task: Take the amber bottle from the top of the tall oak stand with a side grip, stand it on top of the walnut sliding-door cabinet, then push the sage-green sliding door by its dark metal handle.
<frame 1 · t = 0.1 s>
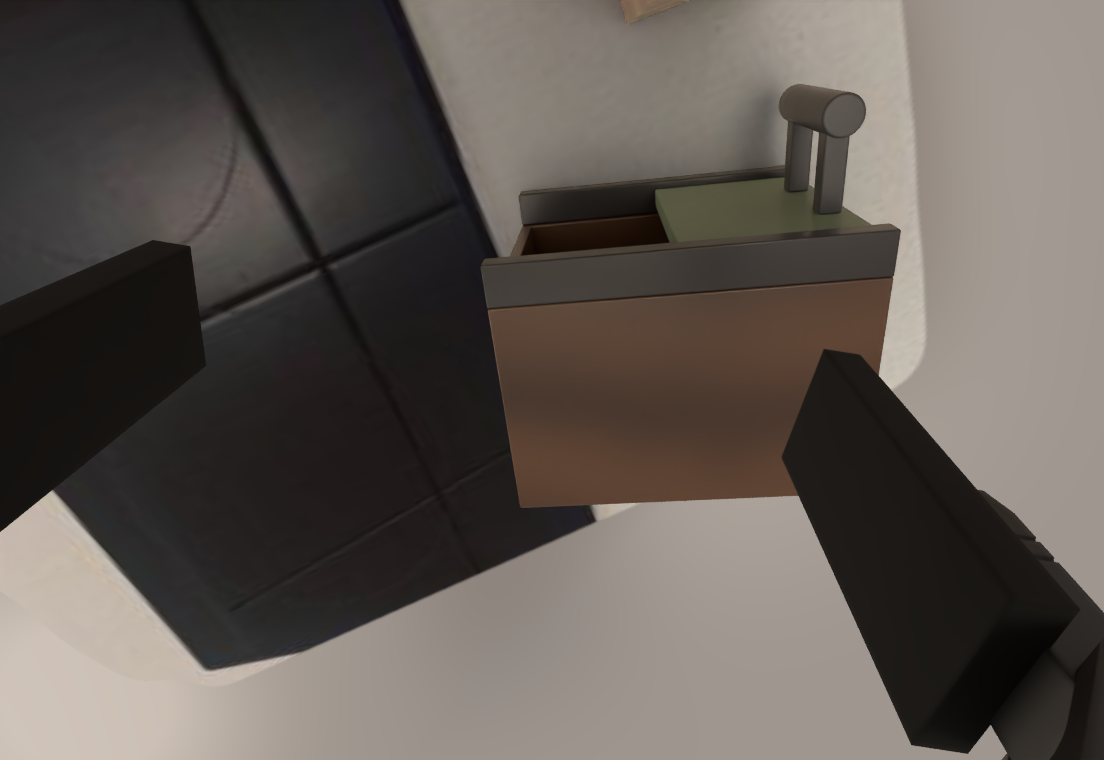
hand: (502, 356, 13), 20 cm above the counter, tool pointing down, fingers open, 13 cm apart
cabinet: (656, 286, 33), on the counter
sliding door: (748, 163, 24), point 6 cm above the counter, slide at 0.0 cm
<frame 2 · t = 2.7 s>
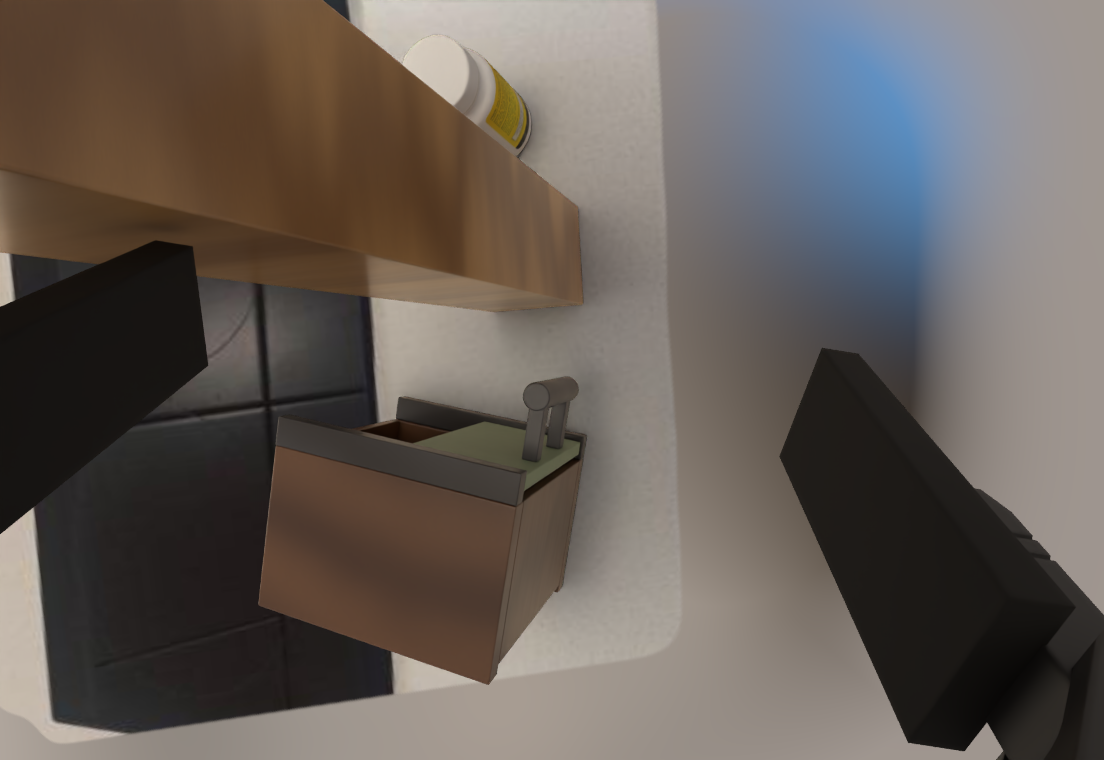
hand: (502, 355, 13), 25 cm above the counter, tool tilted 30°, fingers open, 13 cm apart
cabinet: (479, 495, 41), on the counter
stand: (534, 260, 39), on the counter
sliding door: (506, 415, 34), point 6 cm above the counter, slide at 0.0 cm
supplement bottle: (498, 130, 40), on the counter
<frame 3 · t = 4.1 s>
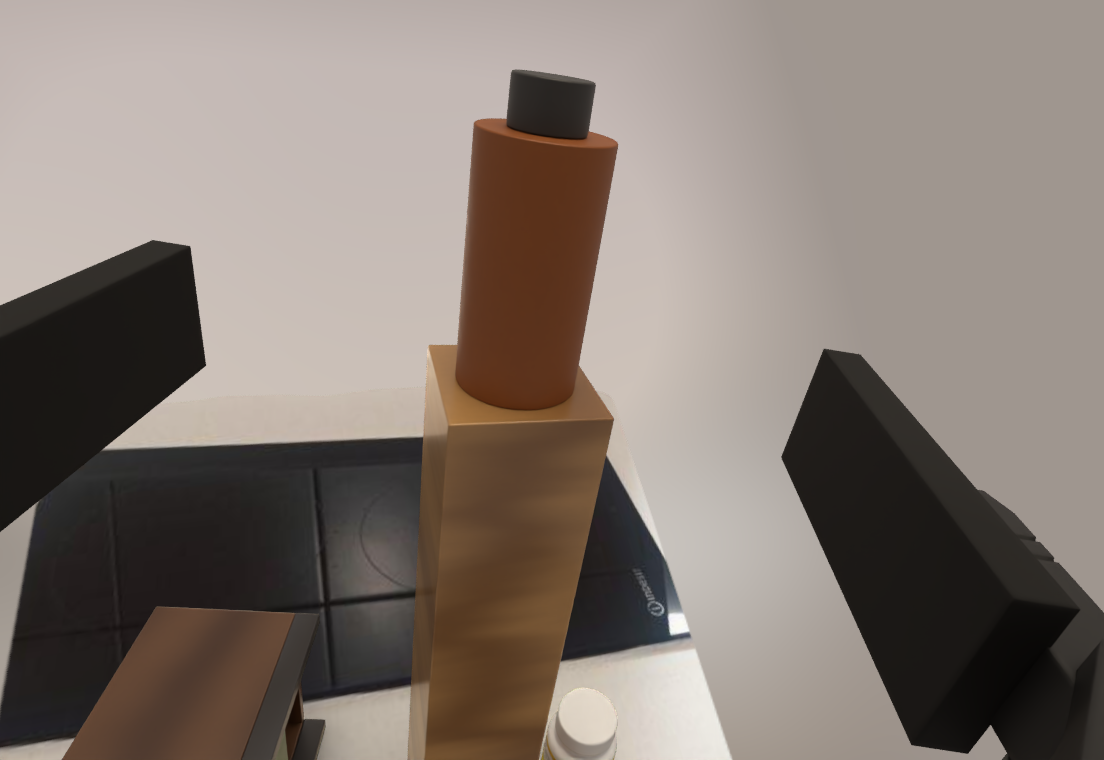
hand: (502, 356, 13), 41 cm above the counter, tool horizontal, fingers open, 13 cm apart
amber bottle: (515, 378, 24), point 35 cm above the counter, touching stand
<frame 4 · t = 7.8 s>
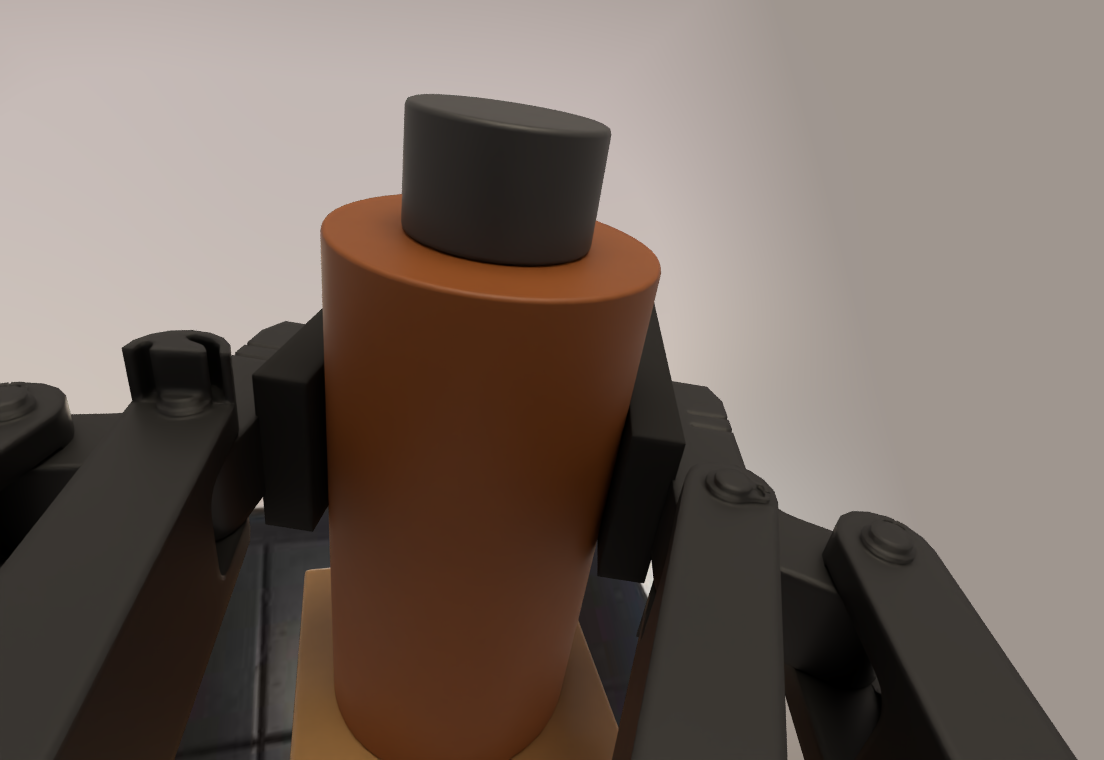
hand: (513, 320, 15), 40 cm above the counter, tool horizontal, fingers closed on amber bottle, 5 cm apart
amber bottle: (452, 662, 13), point 35 cm above the counter, touching gripper, stand
when the fingers open (17 cm above the counter, at t = 16.5 s): amber bottle stays where it is, resting on cabinet.
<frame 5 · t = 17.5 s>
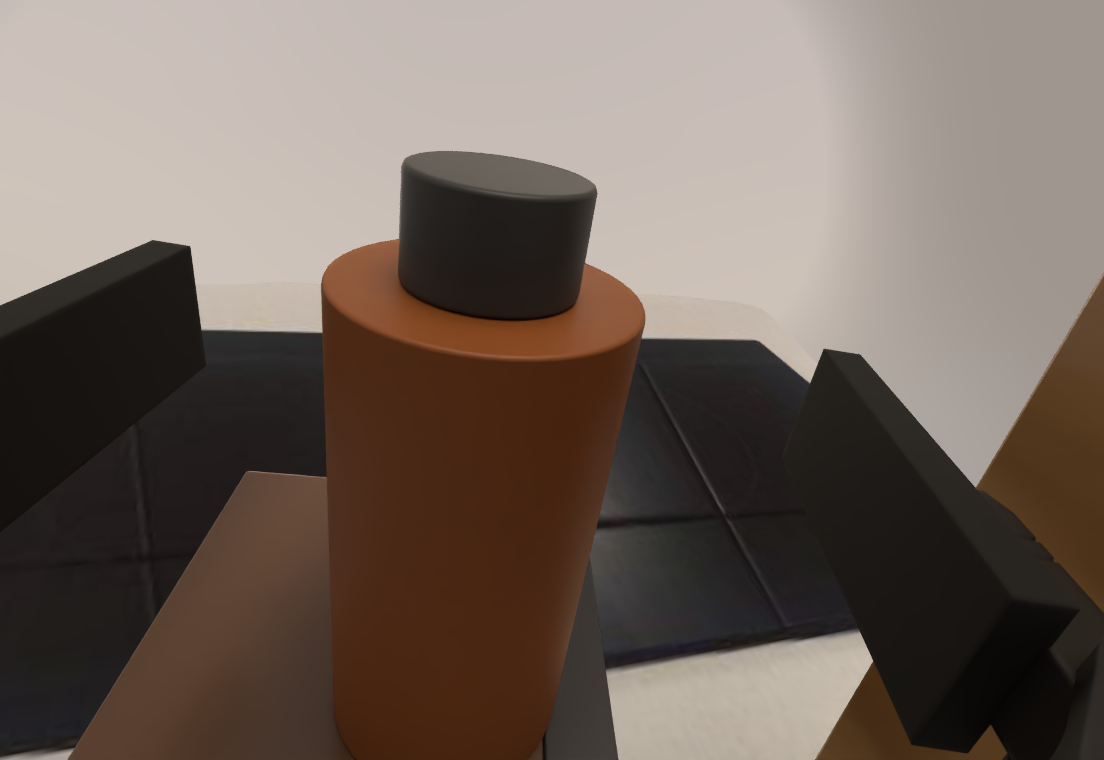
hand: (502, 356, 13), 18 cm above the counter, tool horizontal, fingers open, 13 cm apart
amber bottle: (447, 682, 13), point 12 cm above the counter, touching cabinet
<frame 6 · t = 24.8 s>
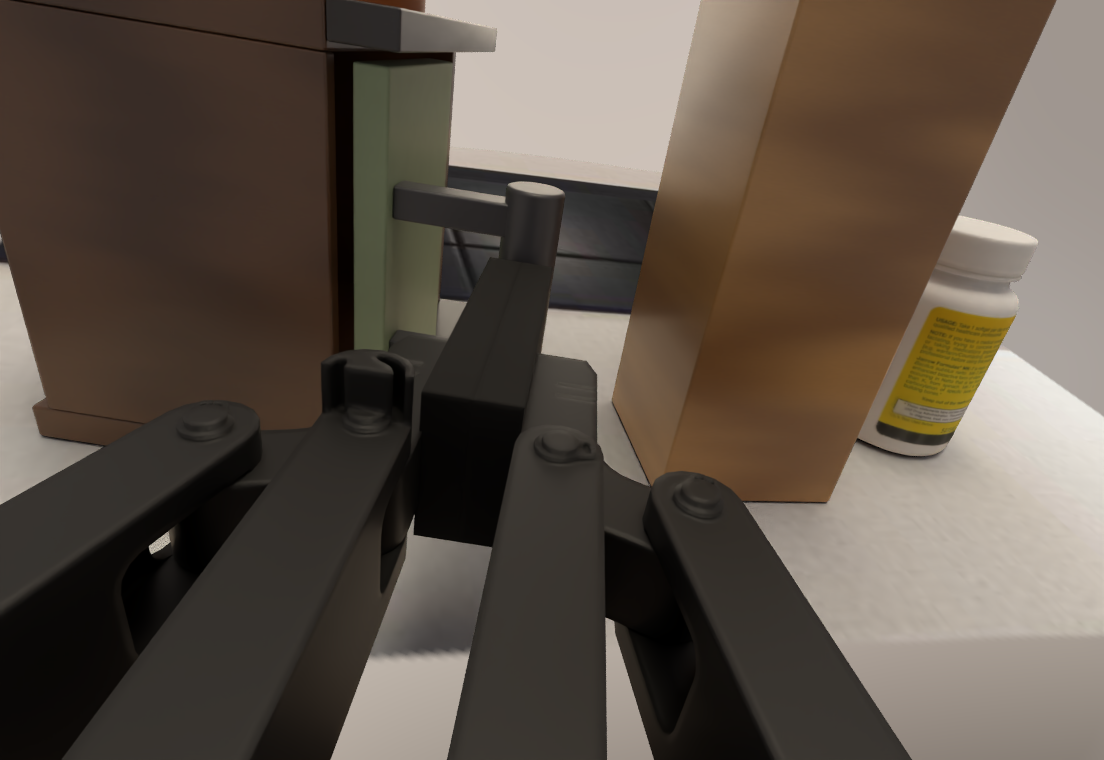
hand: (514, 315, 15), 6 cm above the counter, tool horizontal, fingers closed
amber bottle: (342, 0, 18), point 12 cm above the counter, touching cabinet
cabinet: (294, 360, 23), on the counter
stand: (710, 447, 22), on the counter
sliding door: (473, 260, 18), point 6 cm above the counter, slide at 0.3 cm, touching gripper
supplement bottle: (879, 429, 26), on the counter
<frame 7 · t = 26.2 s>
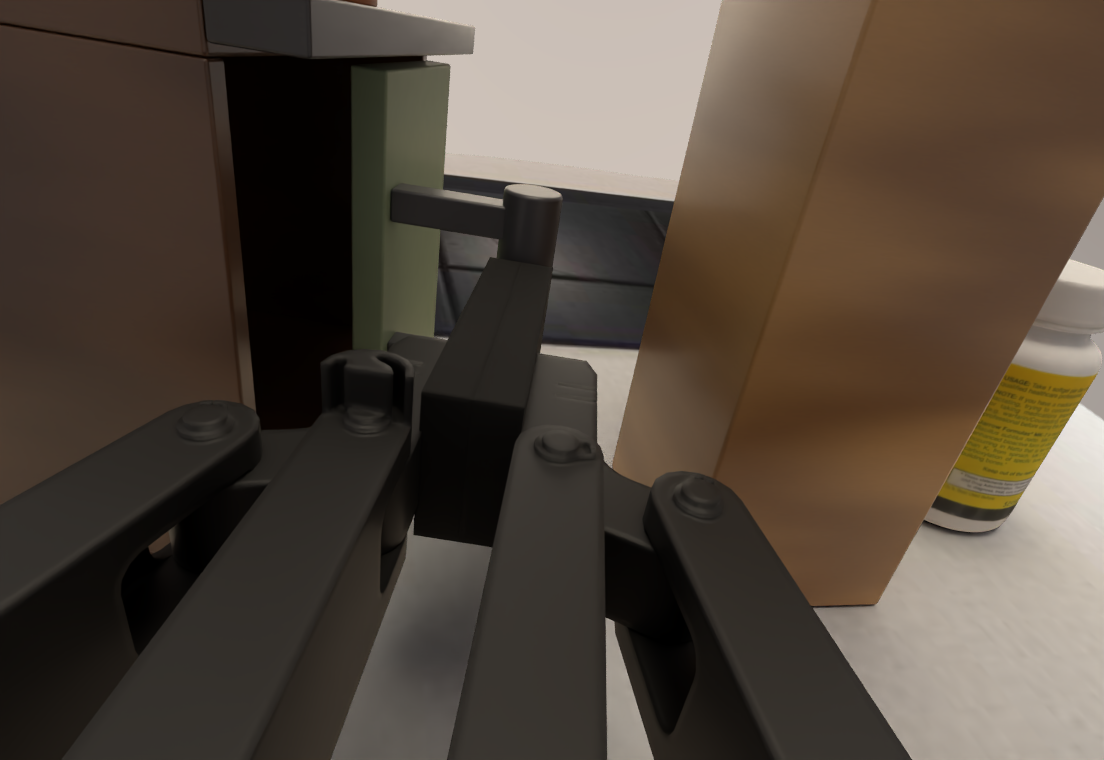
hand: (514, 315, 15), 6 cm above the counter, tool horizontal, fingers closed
cabinet: (234, 422, 20), on the counter
stand: (730, 528, 19), on the counter
sliding door: (470, 262, 18), point 6 cm above the counter, slide at 4.5 cm, touching gripper
supplement bottle: (923, 494, 22), on the counter
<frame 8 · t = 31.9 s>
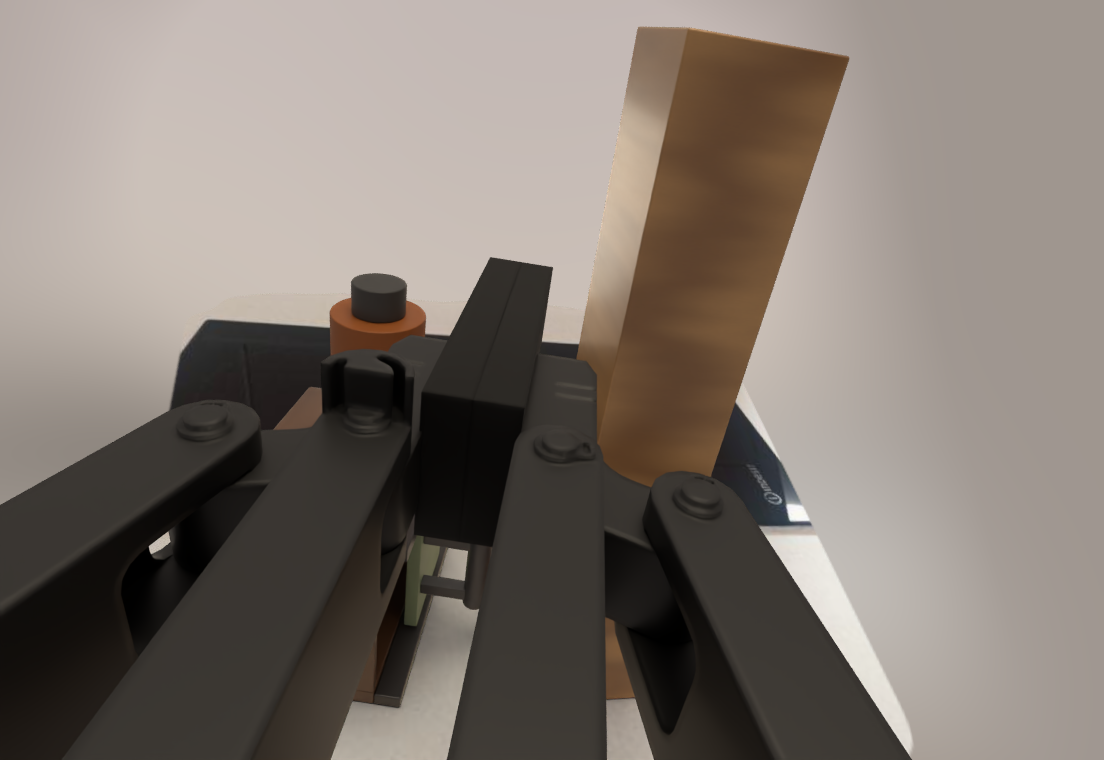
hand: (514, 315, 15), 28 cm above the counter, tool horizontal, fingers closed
amber bottle: (376, 459, 35), point 12 cm above the counter, touching cabinet
cabinet: (344, 603, 41), on the counter
stand: (579, 657, 40), on the counter
sliding door: (457, 536, 39), point 6 cm above the counter, slide at 4.5 cm
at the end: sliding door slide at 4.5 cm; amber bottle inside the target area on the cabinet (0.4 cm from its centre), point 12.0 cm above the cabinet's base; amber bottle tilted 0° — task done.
